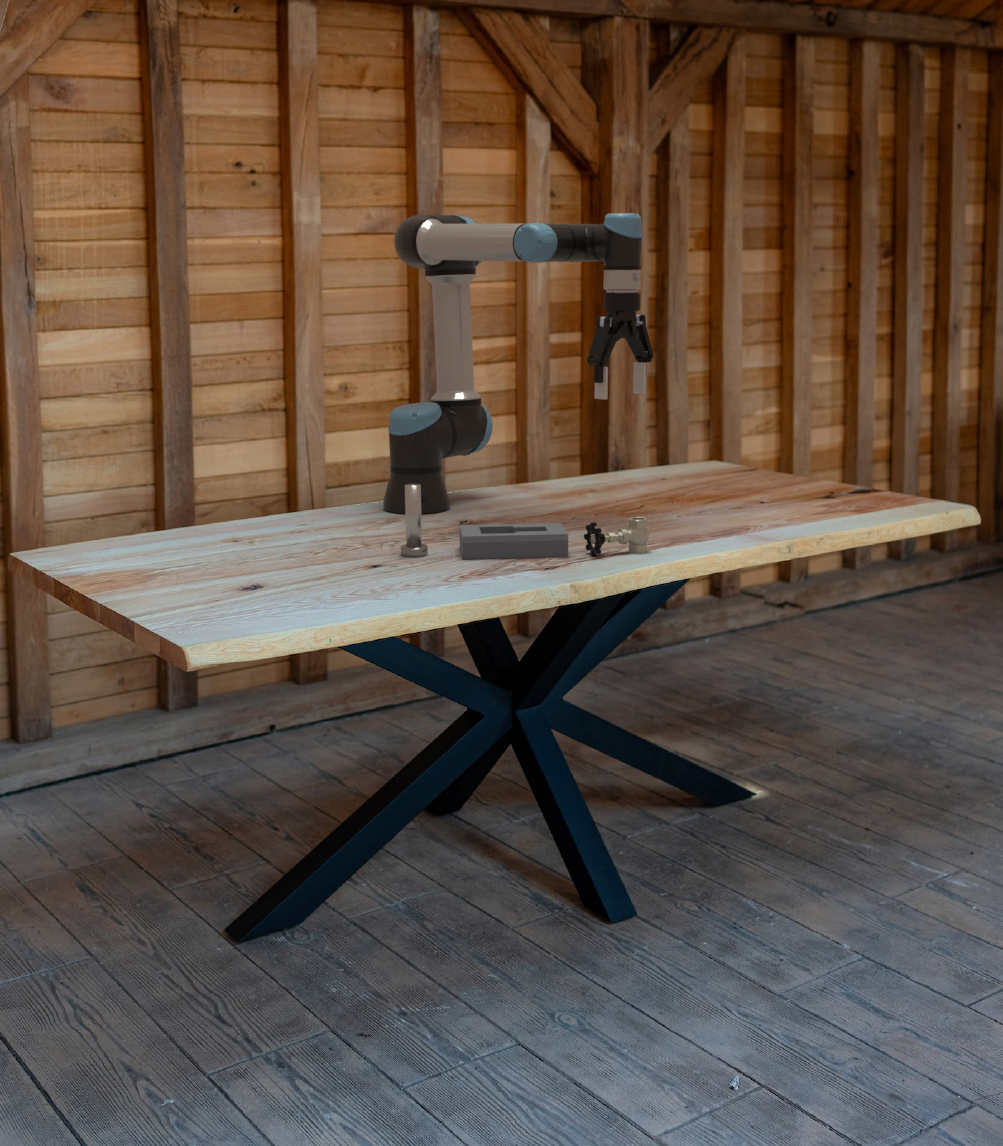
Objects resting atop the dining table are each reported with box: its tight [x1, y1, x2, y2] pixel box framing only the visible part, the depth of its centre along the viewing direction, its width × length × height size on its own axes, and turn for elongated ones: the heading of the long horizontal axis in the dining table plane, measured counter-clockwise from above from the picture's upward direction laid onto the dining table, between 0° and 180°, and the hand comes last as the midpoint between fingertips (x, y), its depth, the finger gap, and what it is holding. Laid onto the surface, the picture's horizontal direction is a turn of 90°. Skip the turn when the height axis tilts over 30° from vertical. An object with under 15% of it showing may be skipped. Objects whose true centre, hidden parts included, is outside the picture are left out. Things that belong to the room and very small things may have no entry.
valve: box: [583, 516, 650, 557], centre depth 258 cm, size 7×7×12 cm
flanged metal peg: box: [400, 484, 429, 559], centre depth 257 cm, size 5×5×14 cm
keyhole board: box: [458, 522, 569, 560], centre depth 260 cm, size 20×11×4 cm, turn 95°
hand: (620, 396), depth 279 cm, fingers open, 13 cm apart
